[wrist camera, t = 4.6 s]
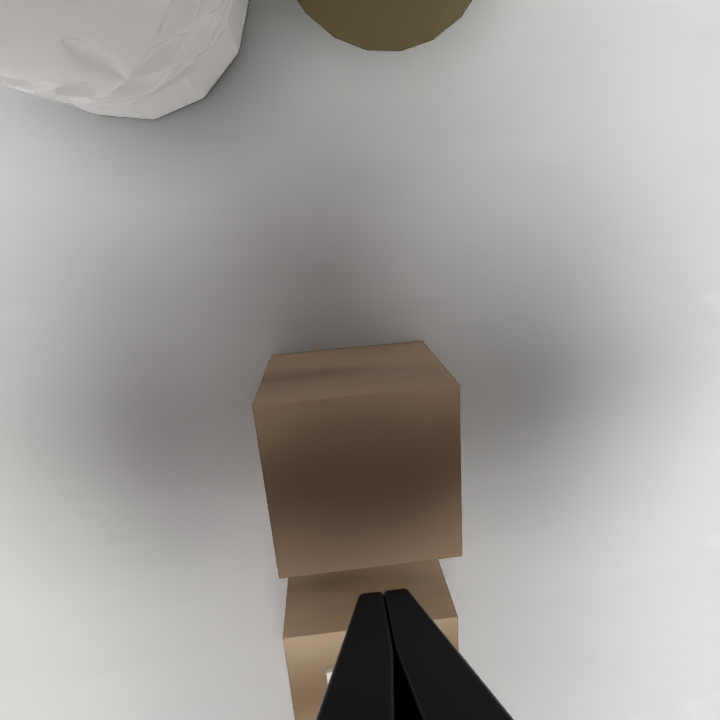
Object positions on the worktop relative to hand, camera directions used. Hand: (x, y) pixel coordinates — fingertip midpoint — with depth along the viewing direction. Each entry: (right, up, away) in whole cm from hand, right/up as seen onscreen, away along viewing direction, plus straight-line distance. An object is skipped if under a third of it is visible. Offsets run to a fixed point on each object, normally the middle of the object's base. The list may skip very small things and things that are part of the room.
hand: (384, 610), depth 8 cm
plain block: (-1, +2, +8) cm, 8 cm away
